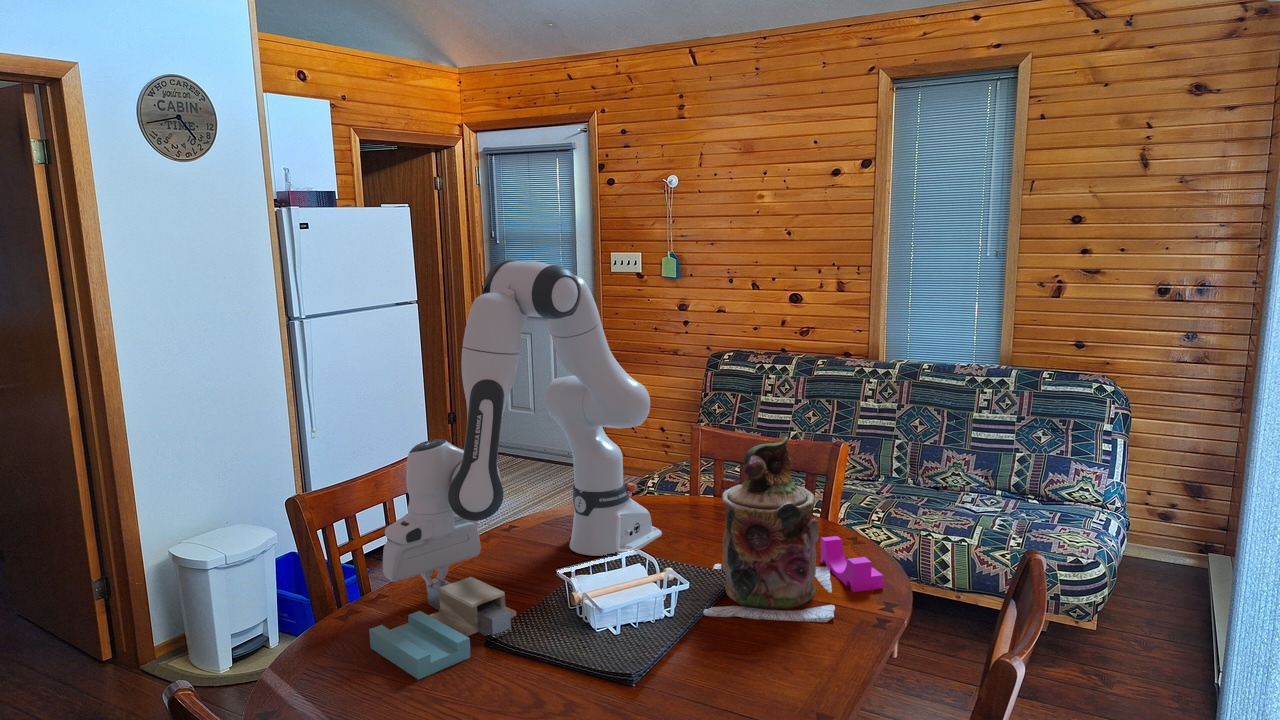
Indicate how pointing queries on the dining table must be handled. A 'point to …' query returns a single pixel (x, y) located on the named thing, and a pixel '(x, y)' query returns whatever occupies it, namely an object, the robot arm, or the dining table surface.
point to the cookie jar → (771, 543)
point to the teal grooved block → (420, 645)
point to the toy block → (849, 566)
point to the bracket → (466, 604)
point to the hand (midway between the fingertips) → (435, 589)
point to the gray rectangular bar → (488, 613)
